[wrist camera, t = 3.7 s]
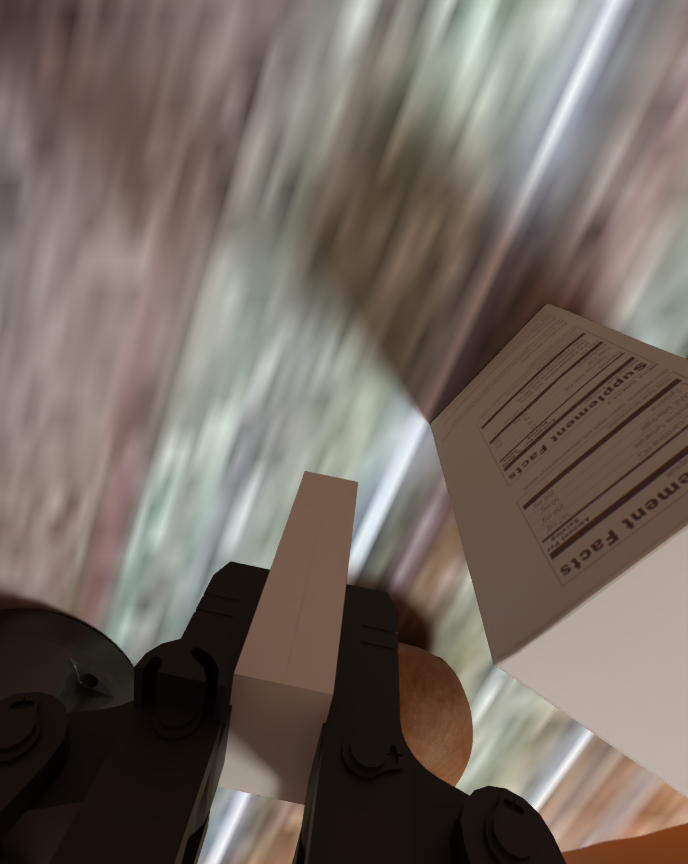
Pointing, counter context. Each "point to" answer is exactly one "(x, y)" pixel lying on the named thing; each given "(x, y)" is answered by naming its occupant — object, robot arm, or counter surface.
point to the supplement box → (581, 527)
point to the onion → (434, 713)
